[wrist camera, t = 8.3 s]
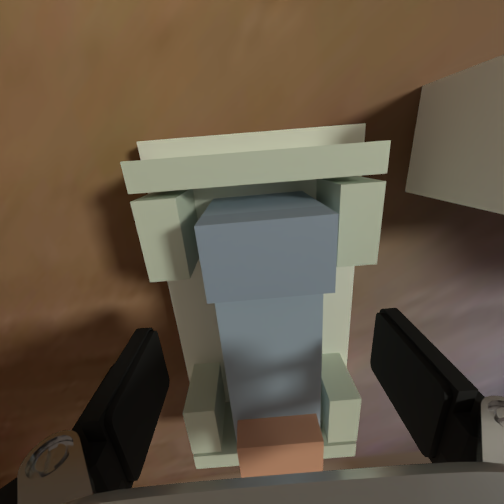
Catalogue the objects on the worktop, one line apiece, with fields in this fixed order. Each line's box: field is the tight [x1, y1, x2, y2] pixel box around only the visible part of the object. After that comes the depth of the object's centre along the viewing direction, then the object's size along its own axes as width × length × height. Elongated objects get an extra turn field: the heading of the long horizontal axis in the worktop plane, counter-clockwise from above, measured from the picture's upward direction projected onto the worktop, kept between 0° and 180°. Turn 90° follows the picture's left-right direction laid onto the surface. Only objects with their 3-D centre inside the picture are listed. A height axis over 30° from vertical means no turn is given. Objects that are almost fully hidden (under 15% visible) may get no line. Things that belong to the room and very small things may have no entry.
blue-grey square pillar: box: [194, 191, 339, 478], centre depth 11 cm, size 4×12×5 cm, turn 5°
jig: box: [120, 123, 391, 469], centre depth 13 cm, size 10×17×4 cm, turn 4°
